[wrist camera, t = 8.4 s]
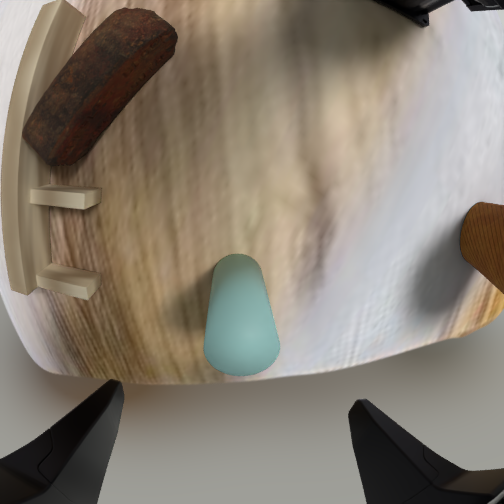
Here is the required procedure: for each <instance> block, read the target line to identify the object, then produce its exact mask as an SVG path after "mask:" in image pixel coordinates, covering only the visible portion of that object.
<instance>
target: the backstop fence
mask: <svg viewBox="0 0 504 504" xmlns="http://www.w3.org/2000/svg"><path fill="white" fill-rule="evenodd" d="M85 18H86V16H84V15H83V14H82V13H81V12H79V11H78V10H77V9H76V8H75V7H73V6H72V5H71V4H69V3H68V2H67V1H66V0H56V1H53V2H51V3H48V4H45V5H43V6H42V8H41V10H40V12H39V15H38V17H37V19H36V21H35V24H34V26H33V28H32V31H31V33H30V36H29V38H28V41H27V44H26V47H25V49H24V52H23V55H22V58H21V62H20V65H19V68H18V72H17V75H16V79H15V83H14V87H13V91H12V95H11V100H10V105H9V110H8V115H7V121H6V128H5V135H4V144H3V154H2V169H1V216H2V231H3V241H4V250H5V258H6V264H7V271H8V276H9V282H10V287H11V290H13V291H16V292H19V293H22V294H24V295H27V296H28V295H29V294H30V293H31V292H32V291H33V290H34V289H36V288H37V287H40V288H44V289H47V290H51V291H54V292H58V293H62V294H65V295H69V296H73V297H77V298H81V299H85V300H89V298H90V297H91V296H92V295H93V294H94V293H95V291H96V290H97V289H98V288H99V287H100V286H101V273H96V272H91V271H87V270H82V269H77V268H72V267H68V266H63V265H59V264H54V263H52V258H51V246H50V226H49V205H50V206H59V207H67V208H75V209H87V208H89V207H91V206H93V205H96V204H98V203H101V191H102V188H92V187H81V186H68V185H55V184H50V171H51V166H50V165H48V164H46V162H45V161H44V160H43V159H42V158H41V157H40V156H39V155H38V154H37V153H36V152H35V150H34V149H33V148H32V147H31V146H30V145H29V144H28V143H27V142H26V141H25V140H24V139H23V138H22V131H23V128H24V126H25V124H26V122H27V120H28V118H29V117H30V115H31V113H32V112H33V110H34V108H35V106H36V104H37V103H38V102H39V100H40V99H41V97H42V96H43V94H44V92H45V91H46V90H47V89H48V87H49V86H50V84H51V83H52V81H53V80H54V78H55V77H56V76H57V74H58V73H59V72H60V71H61V69H62V68H63V67H64V66H65V64H66V63H67V61H68V60H69V58H70V57H71V56H72V54H73V51H74V48H75V45H76V42H77V39H78V36H79V34H80V31H81V28H82V26H83V23H84V21H85Z"/></svg>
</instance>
